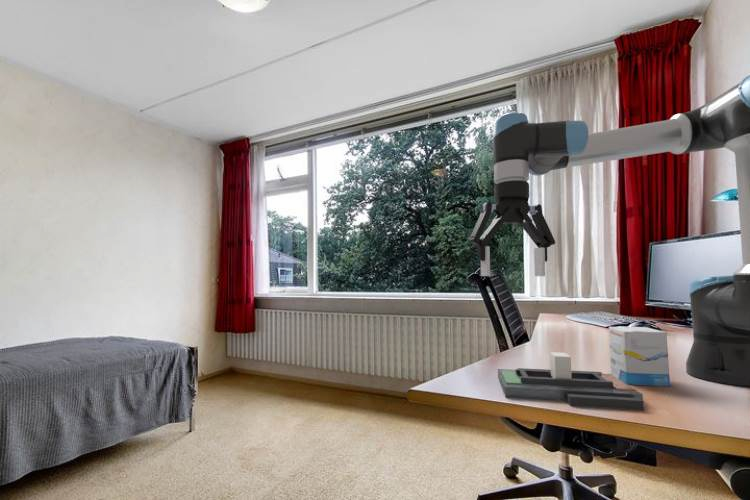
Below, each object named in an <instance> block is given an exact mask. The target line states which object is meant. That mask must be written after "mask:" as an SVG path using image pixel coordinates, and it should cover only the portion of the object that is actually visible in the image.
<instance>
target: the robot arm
mask: <svg viewBox="0 0 750 500" xmlns="http://www.w3.org/2000/svg"><path fill="white" fill-rule="evenodd" d="M528 118H529V117H528V115H526V114H525V113H523V112H516V111H515V112H514V111H513V112H507V113H505V114H502V115H500V116H498V117H497V118H496V119H495V121H494V122H493V136H492V147H493V148H492V149H493V150H492V151H493V183H495V185H494V187H493V199H494V203H492V202H491V201H487V202H485V203H482V204H481V212H480V213H479V214H480V215H479V216H478V219H477V222H476V223H475V226H474V228H473V230H472V232H471V234H470V236H469V238H468V243H469V244H472V245H474V246H475V247H476V255H477V256H476V257H477V258H476V259H477V261H478V262H480V276H481V277H490V276H491V259H490V258H491V252H490V250H491V249H490V248H491V247H490V246H488V245H487V244H488V243H489V241H490V240H491V239H492V237H494V235H495V233H496V232H497V231H498V230H499V229H500V227H501V226H502V225H503V224H504V225H507V224H512V225H519V226H520V227H521V228H522V229H523V230H524V231H525V232H526V233H527V236H529V238H530V239H531V240H532V242H533V243H534V244H535V246H536V247H534V248H533V256H534V257H533V260H534V264H533V265H534V277H546V262H548V248H549V247H550V248H551V246H553V245H556V239H555V238H554V236H553V234H552V233H553V232H552V231H551V229H550V227H549V225H548V223H547V220H546V219H545V215H544V214H543V207H542V205H541V204H539V203H538V204H535V205H530V204H529V199H530V183H529V182H528V181H529V180H530V175H532V176H537V177H538V176H543V175H546V174H548V173H549V172H551V171H555V170H561V169H566V168H573V167H580V166H585V165H586V166H587V165H593V164H597V163H598V164H599V163H605V162H609V161H617V160H623V159H628V158H629V159H630V158H636V157H642V156H648V155H655V154H661V153H667V152H668V153H669V152H670V153H671V154H674V155H681V154H690V153H696V152H703V151H710V150H711V151H712V150H716V149H721V148H722V149H723V148H725V149H728V150H729V151H731V152H733V153H734V156H735V157H734V158H735V160H734V161H735V173H736V188H737V189H736V190H737V199H738V200H737V202H738V213H739V214H738V215H739V229H740V243H741V244H740V245H741V258H742V265H741V266H740V267H739V268H738V269H736V270H735V271H734V272H733V274H732V275H720V276H719V275H718V276H706V277H700V278H695V279H694V280H692V281H691V282H690V285H689V286H690V287H689V298H690V308H691V322H692V323H691V324H692V333H693V334H692V335H693V336H692V338H693V340H692V341H693V342H692V346H691V348H690V351H689V353H688V356H687V359H686V361H685V370H686V371H685V372H686V373H687V374H688V375H690V376H693V377H695V378H698V379H701V380H705V381H709V382H714V383H715V382H716V383H719V384H726V385H734V386H742V387H750V75H748V76H746V77H745V78H743V79H742V80H741V82H738V83H737V84H736V85H735V86H732V87H731V88H730V89H728V90H726V91H724V92H723V93H722V94H720V95H718V96H717V97H715V98H714V99H713V100H711V101H709V102H707V103H706V104H704V105H702V106H700V107H698V108H695V109H693V110H690V111H687V112H682V113H677V114H674V115H672V116H671V117H670V118H669V119H666V120H660V121H654V122H649V123H643V124H639V125H632V126H627V127H626V126H625V127H620V128H615V129H609V130H603V131H597V132H593V133H592V132H591V133H589V128H588V125H587V123H586V122H585V121H583V120H569V119H566V120H560V121H548V122H535V123H534V122H529V119H528ZM493 212H494V213H495V214H496V216H495V217H494V218H493V220H492V221H491V223H490V225H489V226H488V227H487V229H486V230H485V227H486V226H487V223H488V221H489V219H490V217H491V215H492V213H493ZM530 215H531V216H530ZM484 230H485V231H484Z"/></svg>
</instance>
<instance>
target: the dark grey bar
mask: <svg viewBox="0 0 750 500" xmlns="http://www.w3.org/2000/svg"><path fill="white" fill-rule="evenodd" d="M567 400H568V401H567V404H568V405H569V406H570V407H571V406H572V407H573V406H574V407H584V408H585V407H586V408H588V407H589V408H604V409H618V410H620V409H621V410H636V411H645V404H644V403H645V401H644V399H643V400H641V399H640V398H629V397H612V396H595V395H578V394H567Z"/></svg>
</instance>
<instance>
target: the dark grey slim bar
mask: <svg viewBox="0 0 750 500" xmlns="http://www.w3.org/2000/svg"><path fill="white" fill-rule="evenodd" d="M517 369H524V370H546V371H551V369H545V368H544V369H542V368H541V369H540V368H525V367H524V368H521V367H520V368H519V367H518V368H517ZM571 372H590V373H600V374H604V373H603V372H602V371H589V370H586V371H585V370H571Z"/></svg>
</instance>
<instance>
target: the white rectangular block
mask: <svg viewBox="0 0 750 500" xmlns="http://www.w3.org/2000/svg"><path fill="white" fill-rule="evenodd" d="M549 359H550V361H549V362H550V370H551V376H552V377H553V378H563V379H572V376H571V371H572V358H571V356H570V355H569V354H567V353H566V352H559V351H558V352H555V351H554V352H553V351H551V352H550V351H549Z"/></svg>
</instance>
